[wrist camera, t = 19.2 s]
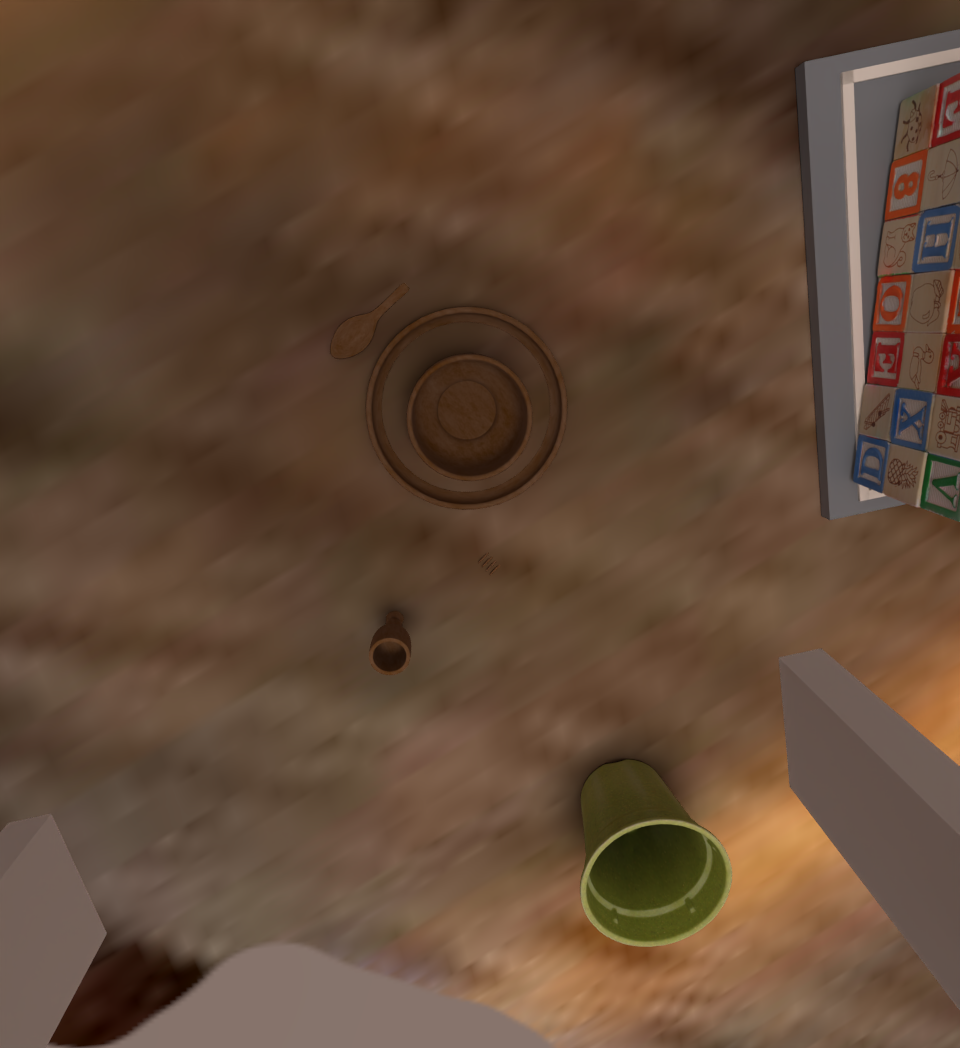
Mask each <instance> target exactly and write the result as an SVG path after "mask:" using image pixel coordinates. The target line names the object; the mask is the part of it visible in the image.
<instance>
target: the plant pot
mask: <svg viewBox="0 0 960 1048" xmlns="http://www.w3.org/2000/svg"><path fill="white" fill-rule="evenodd" d="M581 809H582V818H583V827H584V837H585V849H586V859H585V865H584V870H583V873H582V876H581V881H580V896H581V902H582V906H583V909H584V911H585V913H586V915H587V917H588V919H589V920H590V921H591V923H592V924H593V925H594V926H595V927H596V928H597V929H598V930H599V931H600V932H602V933H603V934H604V935H606V936H607V937H609V938H611V939H613V940H615V941H618V942H620V943H623V944H627V945H634V946H646V947H652V946H659V945H666V944H671V943H674V942H677V941H680V940H682V939H685V938H687V937H689V936H691V935H693V934H695V933H696V932H698V931H699V930H701V929H702V928H703V927H705V926H706V925H707V924H708V923H710V922H711V921H712V920H713V919H714V917H715V916H716V915H717V914H718V912H719V911H720V910H721V908H722V906H723V905H724V903H725V901H726V899H727V897H728V893H729V891H730V887H731V883H732V868H731V863H730V860H729V857H728V854H727V852H726V850H725V848H724V847H723V845H722V844H721V843H720V841H719V840H718V839H717V838H716V837H715V836H714V835H713V834H712V833H711V832H710V831H708V830H707V829H705V828H703V827H702V826H700V825H698V824H697V823H696V822H695V821H693V820H692V819H691V818H690V817H689V815H688V814H687V813H686V811H685V810H684V809H683V807H682V806H681V805H680V803H679V802H678V801H677V799H676V798H675V797H674V795H673V794H672V792H671V791H670V790H669V788H668V787H667V786H666V784H665V783H664V782H663V780H662V779H661V778H660V776H659V775H658V774H657V772H656V771H655V770H654V769H653V768H651V767H650V766H649V765H647V764H645V763H643V762H639V761H636V760H628V759H627V760H624V761H621V762H617V763H611V764H605V765H603V766H601V767H599V768H598V769H597V770H595V771H594V772H593V773H592V774H591V775H590V776H589V777H588V779H587V780H586V782H585V784H584V786H583V789H582V792H581Z"/></svg>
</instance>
